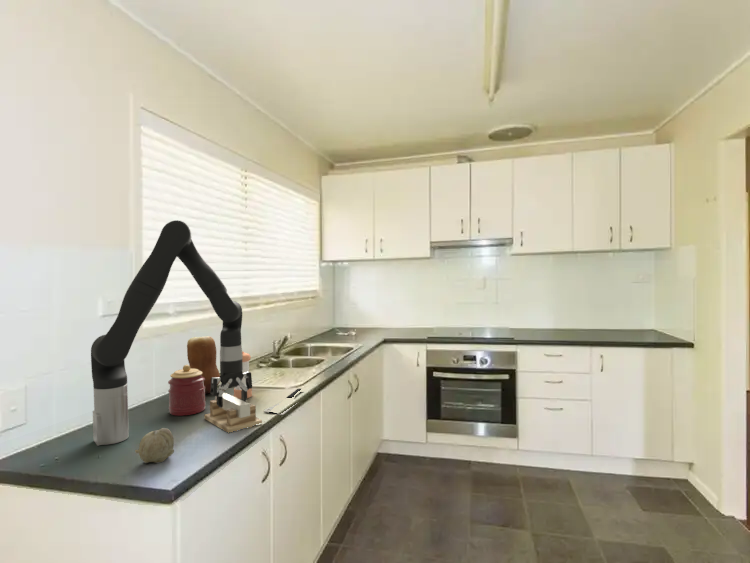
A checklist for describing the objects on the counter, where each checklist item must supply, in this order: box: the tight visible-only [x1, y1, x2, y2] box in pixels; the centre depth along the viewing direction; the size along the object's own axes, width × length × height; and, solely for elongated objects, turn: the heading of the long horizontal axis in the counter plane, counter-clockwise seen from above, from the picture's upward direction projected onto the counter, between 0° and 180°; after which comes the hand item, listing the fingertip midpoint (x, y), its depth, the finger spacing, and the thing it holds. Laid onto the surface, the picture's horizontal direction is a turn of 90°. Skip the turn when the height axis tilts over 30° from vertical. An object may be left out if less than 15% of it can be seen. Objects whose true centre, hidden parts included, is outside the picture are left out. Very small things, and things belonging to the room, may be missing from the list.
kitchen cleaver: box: [263, 388, 302, 416], centre depth 179 cm, size 31×2×10 cm
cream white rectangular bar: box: [214, 392, 251, 418], centre depth 156 cm, size 20×4×4 cm, turn 43°
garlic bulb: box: [134, 427, 175, 464], centre depth 124 cm, size 9×8×10 cm
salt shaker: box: [233, 350, 253, 400], centre depth 188 cm, size 7×7×19 cm
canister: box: [167, 364, 207, 417], centre depth 169 cm, size 13×13×18 cm
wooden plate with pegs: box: [204, 395, 263, 434], centre depth 156 cm, size 20×12×6 cm, turn 42°
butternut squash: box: [186, 335, 221, 395], centre depth 193 cm, size 14×13×25 cm
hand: (232, 404), depth 156 cm, fingers open, 8 cm apart
